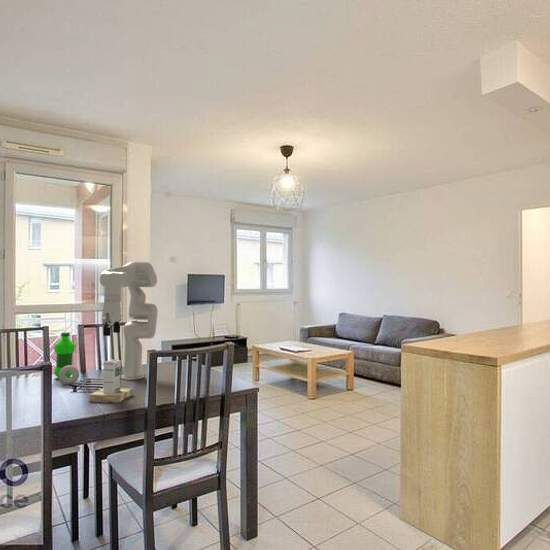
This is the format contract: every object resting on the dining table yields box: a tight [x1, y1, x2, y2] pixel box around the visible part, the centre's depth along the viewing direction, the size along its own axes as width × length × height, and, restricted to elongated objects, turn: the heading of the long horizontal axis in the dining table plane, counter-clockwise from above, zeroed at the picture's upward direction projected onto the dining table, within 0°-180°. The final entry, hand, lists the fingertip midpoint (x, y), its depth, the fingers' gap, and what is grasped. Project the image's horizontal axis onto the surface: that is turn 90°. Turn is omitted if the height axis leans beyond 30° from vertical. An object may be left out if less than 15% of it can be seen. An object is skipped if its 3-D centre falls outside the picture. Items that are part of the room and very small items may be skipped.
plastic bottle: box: [53, 331, 76, 379], centre depth 232 cm, size 10×10×25 cm
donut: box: [58, 365, 80, 385], centre depth 218 cm, size 10×4×10 cm, turn 98°
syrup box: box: [102, 359, 122, 393], centre depth 196 cm, size 6×6×14 cm
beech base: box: [88, 387, 134, 404], centre depth 196 cm, size 14×14×3 cm
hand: (111, 334), depth 200 cm, fingers open, 9 cm apart
